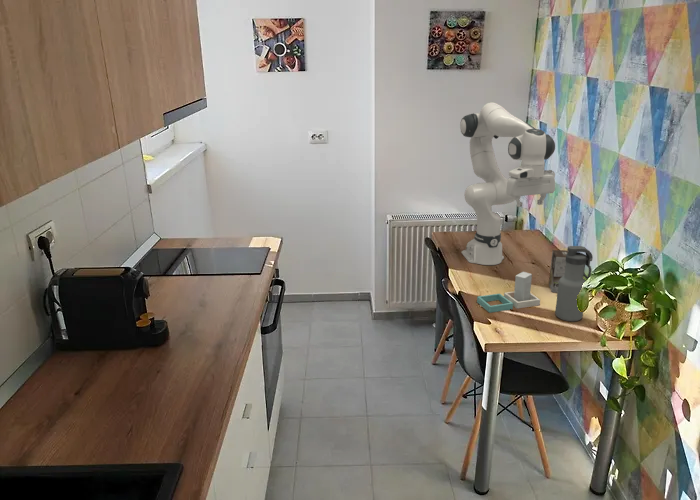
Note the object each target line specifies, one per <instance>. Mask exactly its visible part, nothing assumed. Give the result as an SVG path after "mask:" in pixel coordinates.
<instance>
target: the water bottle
mask: <svg viewBox="0 0 700 500" xmlns="http://www.w3.org/2000/svg"><path fill="white" fill-rule="evenodd" d="M566 251H568V253H567V254H566V261H565V262H566V266H565V274H564V276H563V277H561V278H560V280H559V285H558V292H556V294H557V295H556V301H555V303H556V304H555V309H554V310H555V311H554V313H555V316H556V317H557V318H559V319H560V320H563V321H566V322H578V321H580V320H582V318H583V314H584V311H583V312H580V311H579V310H578V307H577V300H576V299H577V295H578V294H579V292H580V290H581V288H582V285H583V283H584V282H585V281H586V280H589V279H588V278H589V277H590V278H591V274H592V266H591V265H590V264H591V262H592V261H593V254H592V252H591V251H590V250H589V249H588V248H586V247H585V246H581V245H569V246H567V250H566ZM584 253H585V254H584ZM586 267H587V268H588V275H586V274H585V270H586ZM585 279H586V280H585Z"/></svg>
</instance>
